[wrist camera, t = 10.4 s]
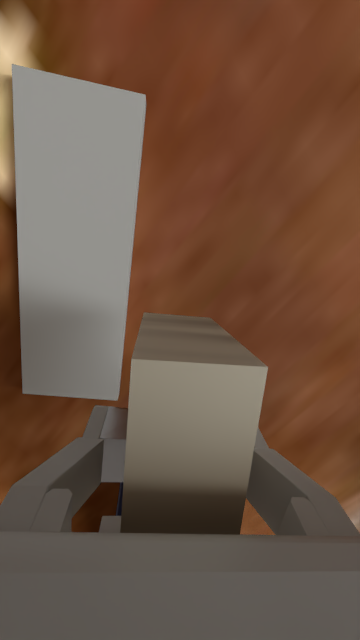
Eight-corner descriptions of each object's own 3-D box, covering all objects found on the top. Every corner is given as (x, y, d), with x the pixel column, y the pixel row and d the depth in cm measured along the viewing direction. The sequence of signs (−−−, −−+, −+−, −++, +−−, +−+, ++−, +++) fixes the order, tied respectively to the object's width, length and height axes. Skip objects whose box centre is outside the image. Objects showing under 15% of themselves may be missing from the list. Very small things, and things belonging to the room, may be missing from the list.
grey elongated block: (121, 310, 11) (82, 356, 5) (231, 319, 12) (309, 369, 6) (104, 609, 14) (68, 851, 8) (192, 605, 15) (217, 827, 9)
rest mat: (21, 75, 14) (11, 64, 13) (146, 104, 15) (145, 94, 14) (28, 386, 20) (22, 393, 19) (119, 393, 21) (117, 400, 20)
